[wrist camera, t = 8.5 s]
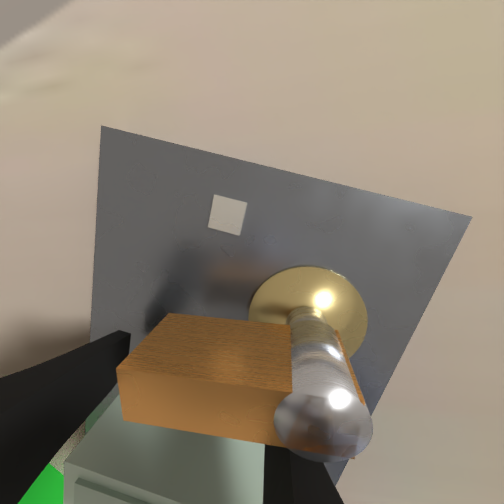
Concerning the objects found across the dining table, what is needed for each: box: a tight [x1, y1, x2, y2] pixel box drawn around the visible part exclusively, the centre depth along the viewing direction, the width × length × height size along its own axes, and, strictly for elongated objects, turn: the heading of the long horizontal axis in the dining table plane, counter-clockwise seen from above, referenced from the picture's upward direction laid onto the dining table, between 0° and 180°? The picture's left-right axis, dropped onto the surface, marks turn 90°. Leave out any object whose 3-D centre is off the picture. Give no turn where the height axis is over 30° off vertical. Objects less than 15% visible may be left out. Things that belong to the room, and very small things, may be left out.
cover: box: [63, 394, 265, 504], centre depth 12 cm, size 9×7×4 cm
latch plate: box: [85, 126, 472, 486], centre depth 13 cm, size 15×22×1 cm
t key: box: [116, 306, 373, 463], centre depth 8 cm, size 2×7×5 cm, turn 88°
